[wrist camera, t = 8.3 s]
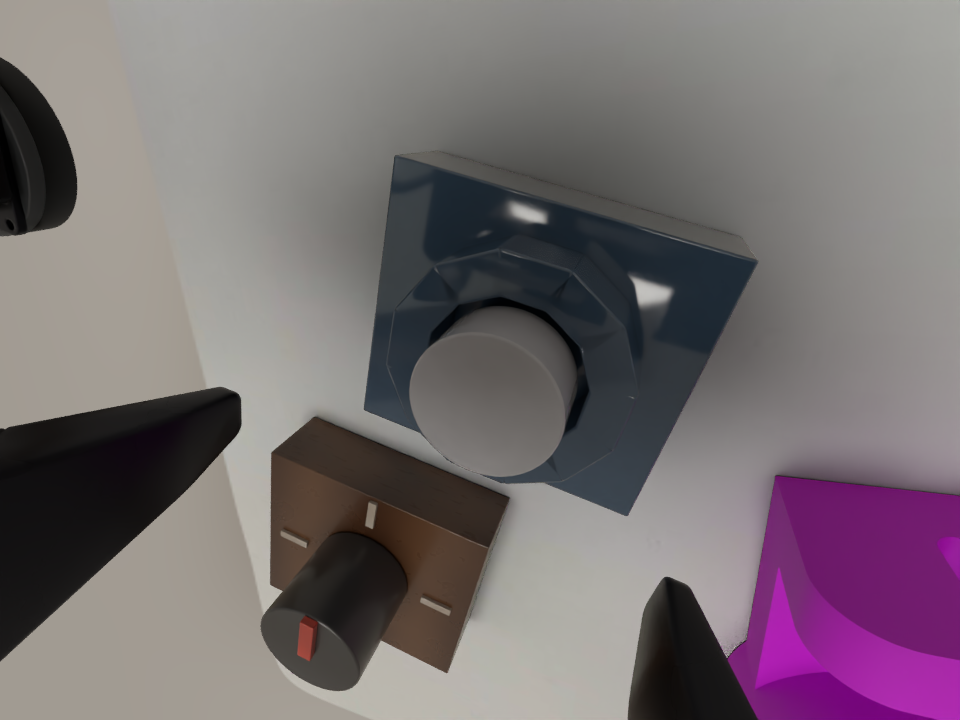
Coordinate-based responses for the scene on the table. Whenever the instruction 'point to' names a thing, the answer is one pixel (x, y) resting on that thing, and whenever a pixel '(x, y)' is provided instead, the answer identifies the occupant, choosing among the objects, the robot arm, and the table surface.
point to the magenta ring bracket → (855, 606)
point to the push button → (495, 391)
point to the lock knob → (335, 611)
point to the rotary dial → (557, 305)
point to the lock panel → (387, 527)
